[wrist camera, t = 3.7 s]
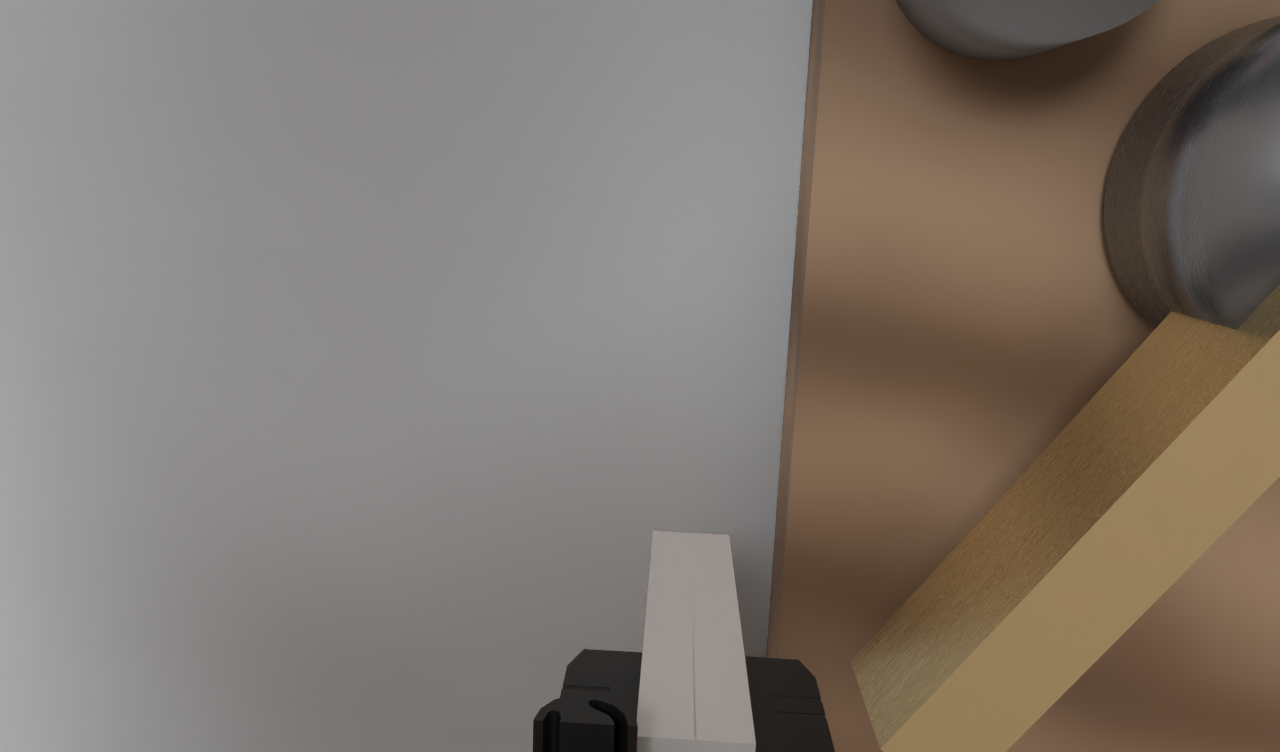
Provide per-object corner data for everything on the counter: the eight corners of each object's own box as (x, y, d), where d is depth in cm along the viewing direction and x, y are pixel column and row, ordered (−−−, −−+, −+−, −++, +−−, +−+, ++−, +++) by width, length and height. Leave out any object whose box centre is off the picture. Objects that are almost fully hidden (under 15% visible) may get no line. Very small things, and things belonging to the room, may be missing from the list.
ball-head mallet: (1281, -62, 17) (1495, -146, 13) (1534, 160, 18) (1824, 156, 13) (750, 559, 21) (769, 670, 16) (980, 727, 21) (1060, 878, 17)
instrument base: (826, -202, 19) (876, -329, 14) (1751, -186, 18) (2134, -314, 14) (758, 774, 25) (776, 922, 20) (1472, 816, 24) (1674, 981, 19)
